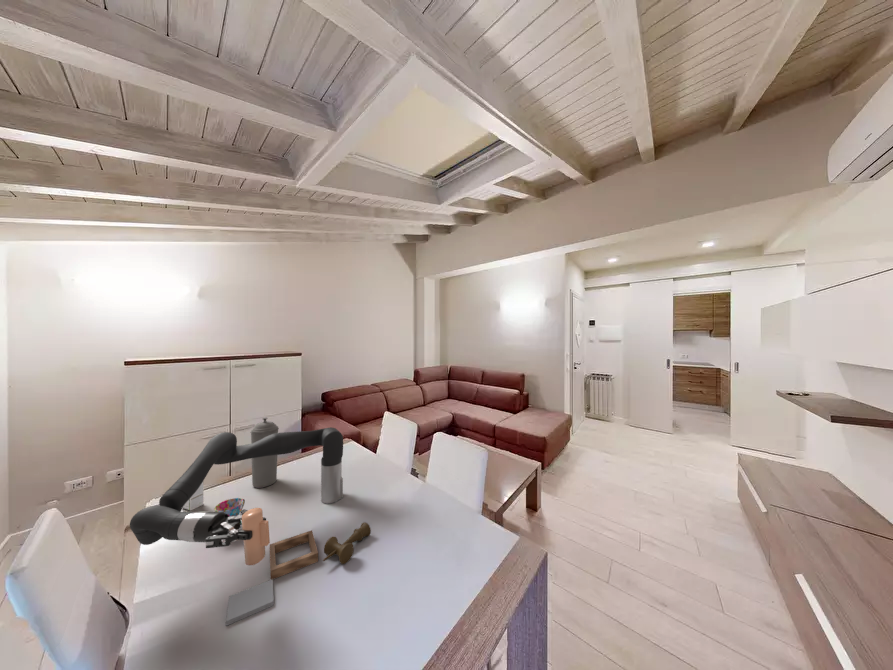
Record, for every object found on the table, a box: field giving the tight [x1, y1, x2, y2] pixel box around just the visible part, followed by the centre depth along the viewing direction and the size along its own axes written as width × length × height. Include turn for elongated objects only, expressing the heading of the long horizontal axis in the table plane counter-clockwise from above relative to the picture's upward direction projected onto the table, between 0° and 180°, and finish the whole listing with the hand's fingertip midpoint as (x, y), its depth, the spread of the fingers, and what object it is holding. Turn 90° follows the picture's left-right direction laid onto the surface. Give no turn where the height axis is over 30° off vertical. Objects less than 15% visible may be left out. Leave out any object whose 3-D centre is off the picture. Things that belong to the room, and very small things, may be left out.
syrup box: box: [182, 481, 205, 512], centre depth 132 cm, size 6×6×14 cm
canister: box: [250, 417, 279, 489], centre depth 153 cm, size 13×13×35 cm
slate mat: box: [225, 579, 275, 626], centre depth 84 cm, size 11×9×1 cm
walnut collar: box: [269, 529, 319, 580], centre depth 101 cm, size 14×14×3 cm
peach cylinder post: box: [241, 507, 271, 566], centre depth 84 cm, size 7×5×14 cm
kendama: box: [322, 521, 372, 565], centre depth 104 cm, size 6×10×20 cm
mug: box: [214, 497, 246, 525], centre depth 116 cm, size 12×9×11 cm
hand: (258, 528), depth 84 cm, fingers closed on peach cylinder post, 5 cm apart
